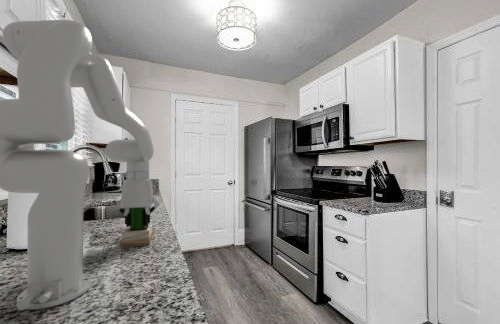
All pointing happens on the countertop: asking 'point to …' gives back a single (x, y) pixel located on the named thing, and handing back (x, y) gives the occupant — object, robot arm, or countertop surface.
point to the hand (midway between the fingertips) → (137, 225)
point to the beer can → (137, 219)
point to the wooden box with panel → (137, 237)
